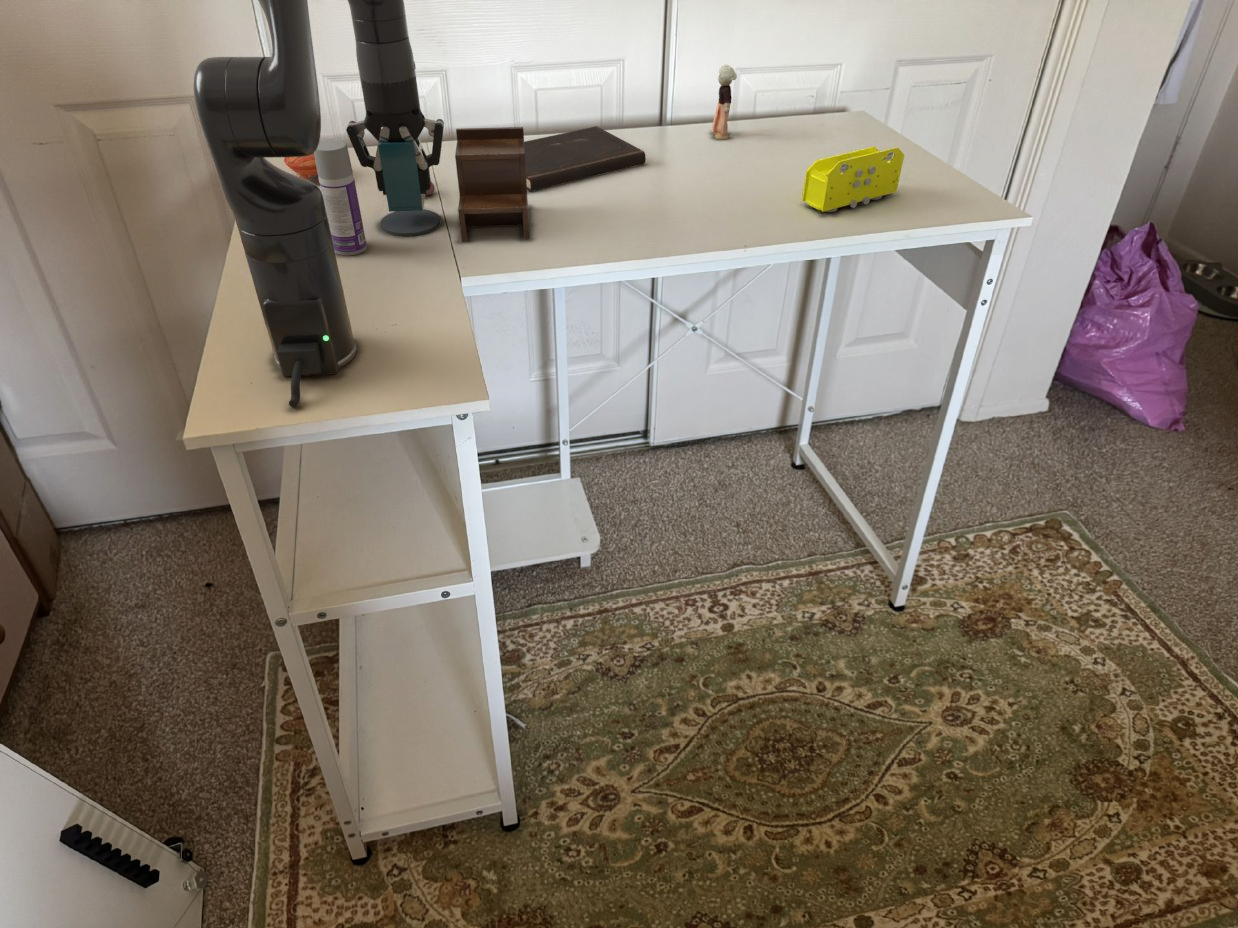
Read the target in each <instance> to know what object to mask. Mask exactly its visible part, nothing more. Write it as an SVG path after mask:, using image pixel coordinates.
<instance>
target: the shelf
mask: <svg viewBox="0 0 1238 928" xmlns="http://www.w3.org/2000/svg"><path fill="white" fill-rule="evenodd" d="M455 133H456V134H455V135H456V145H455V154H454V157H455V158H454V159H455V167H456V176H457V184H458V185H457V186H458V194H459V198H458V206H457V212H458V222H459V228H460V239H461V242H468V236H469V228H479V227H480V228H481V227H511V226H512V227H513V226H522V229H523V239H524V240H530V220H529V219H530V218H529V198H528V190H527V180H526V163H525V147H524V142H525V134H524V127H523V126H508V127H467V128H466V127H463V128H456V129H455Z"/></svg>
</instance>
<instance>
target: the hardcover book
mask: <svg viewBox="0 0 1238 928" xmlns="http://www.w3.org/2000/svg"><path fill="white" fill-rule="evenodd" d="M524 147H525V163H526V180H527V192H534V191H538V190H543V189H546V188H551V187H555V186H559V185H563V184H567V183H571V182H575V181H580V180H583V179H588V178H592V177H595V176H601V175H604V174H608V173H612V172H615V171H621V170H625V169H629V168H633V167H637V166H641V165H644V164H646V160H647V156H646V152H645V151H644V150H643V149H641V148H639V147H638V146H635V145H633V144H631V143H629V142H627V141H625V140H624V139H622V138H620V137H618V136H616V135H615V134H612V133H610V132H608V131H607V130H605V129H602V128H601V127H599V126H597V125H596V126H591V127H587V128H586V127H585V128H582V129H578V130H573V131H569V132H563V133H559V134H554V135H553V134H552V135H548V136H544V137H540V138H535V139H530V140H526V141H525V140H524Z"/></svg>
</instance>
